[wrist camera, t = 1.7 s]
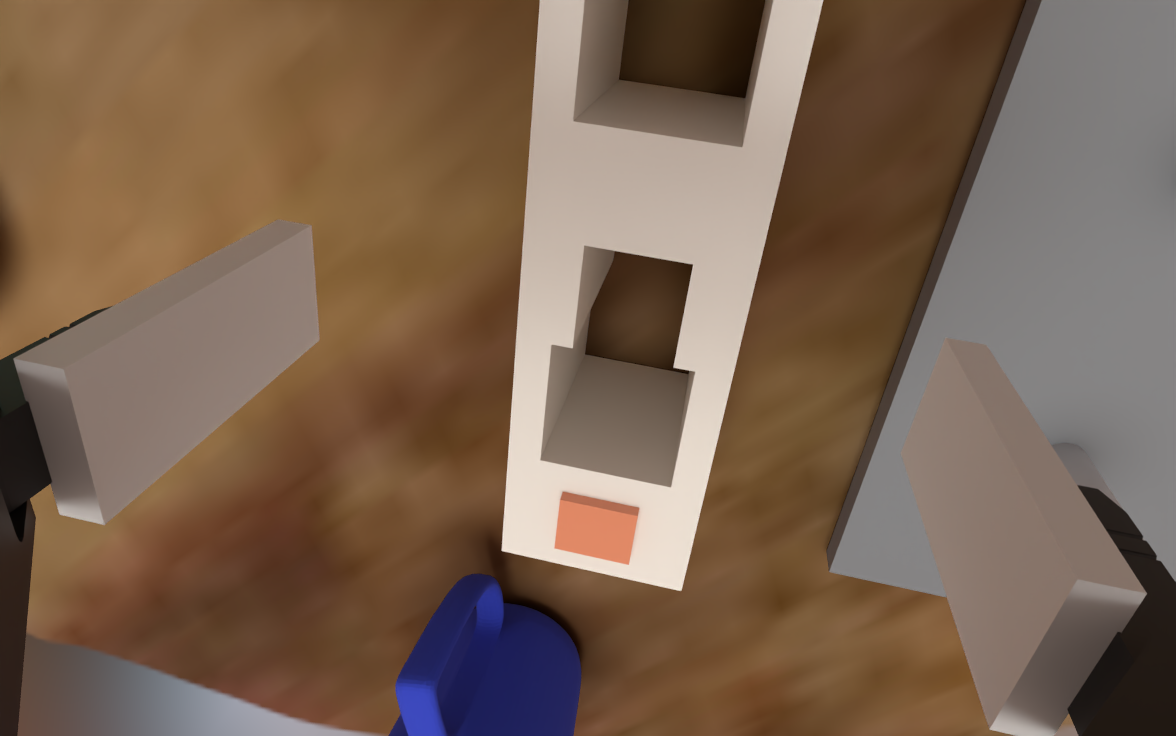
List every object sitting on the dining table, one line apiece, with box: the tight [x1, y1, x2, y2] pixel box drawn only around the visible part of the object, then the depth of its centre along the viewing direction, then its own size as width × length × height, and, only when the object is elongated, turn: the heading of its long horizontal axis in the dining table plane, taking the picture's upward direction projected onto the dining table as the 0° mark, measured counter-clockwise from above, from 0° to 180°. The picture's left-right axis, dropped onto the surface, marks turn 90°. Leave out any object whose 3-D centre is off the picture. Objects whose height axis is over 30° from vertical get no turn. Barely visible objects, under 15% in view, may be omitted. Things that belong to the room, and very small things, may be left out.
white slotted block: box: [502, 0, 823, 591], centre depth 22 cm, size 22×6×7 cm, turn 174°
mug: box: [389, 574, 581, 736], centre depth 32 cm, size 8×12×10 cm
